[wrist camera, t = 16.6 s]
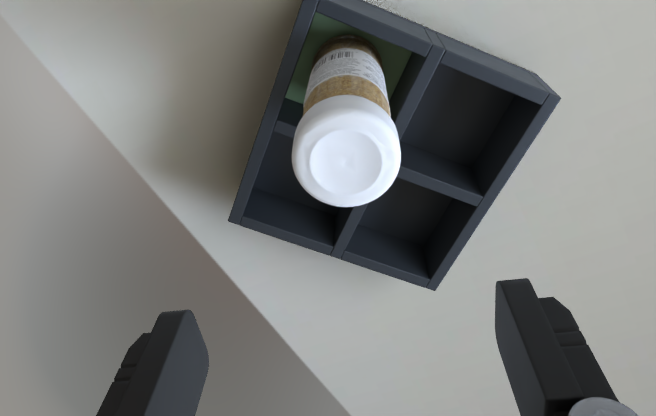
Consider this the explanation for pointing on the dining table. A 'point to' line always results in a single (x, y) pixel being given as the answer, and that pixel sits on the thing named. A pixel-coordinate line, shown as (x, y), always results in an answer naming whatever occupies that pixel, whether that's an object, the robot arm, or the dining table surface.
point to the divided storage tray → (415, 144)
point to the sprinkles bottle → (346, 126)
